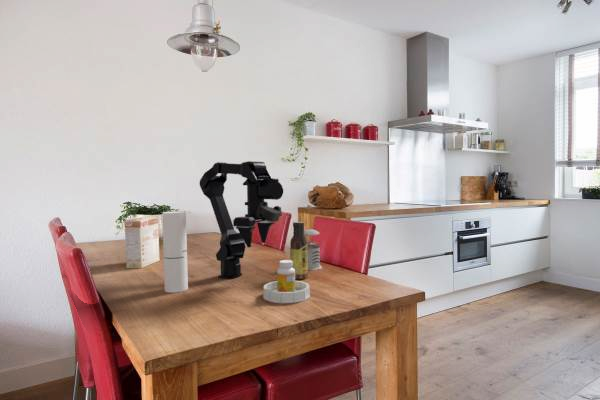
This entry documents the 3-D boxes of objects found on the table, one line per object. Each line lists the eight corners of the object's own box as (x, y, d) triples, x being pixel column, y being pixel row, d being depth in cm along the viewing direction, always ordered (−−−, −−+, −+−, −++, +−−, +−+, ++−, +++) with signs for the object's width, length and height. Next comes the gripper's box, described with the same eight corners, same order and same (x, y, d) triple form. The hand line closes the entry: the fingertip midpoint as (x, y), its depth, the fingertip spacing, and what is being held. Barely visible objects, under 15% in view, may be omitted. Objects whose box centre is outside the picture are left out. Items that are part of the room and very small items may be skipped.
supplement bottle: (274, 292, 117) (273, 260, 117) (289, 289, 120) (289, 258, 119) (282, 296, 112) (282, 264, 112) (298, 293, 115) (298, 261, 115)
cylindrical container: (192, 287, 127) (190, 211, 125) (178, 293, 120) (176, 213, 119) (174, 285, 129) (172, 211, 128) (159, 291, 122) (157, 213, 121)
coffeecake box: (145, 260, 170) (143, 216, 169) (160, 260, 169) (158, 216, 168) (125, 268, 156) (123, 220, 154) (141, 268, 155) (140, 220, 154)
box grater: (326, 266, 155) (326, 204, 153) (312, 272, 145) (311, 206, 143) (305, 263, 160) (305, 203, 158) (290, 269, 150) (289, 205, 149)
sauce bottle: (306, 280, 134) (305, 223, 133) (288, 279, 135) (287, 223, 134) (309, 275, 140) (308, 221, 139) (292, 275, 141) (291, 221, 140)
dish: (254, 299, 113) (254, 289, 113) (277, 287, 125) (277, 278, 125) (297, 306, 107) (297, 295, 107) (317, 292, 119) (317, 282, 119)
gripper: (261, 200, 118) (262, 251, 118) (289, 197, 134) (290, 242, 135) (231, 200, 122) (232, 249, 123) (262, 197, 139) (263, 240, 140)
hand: (256, 245), depth 130 cm, fingers open, 9 cm apart
